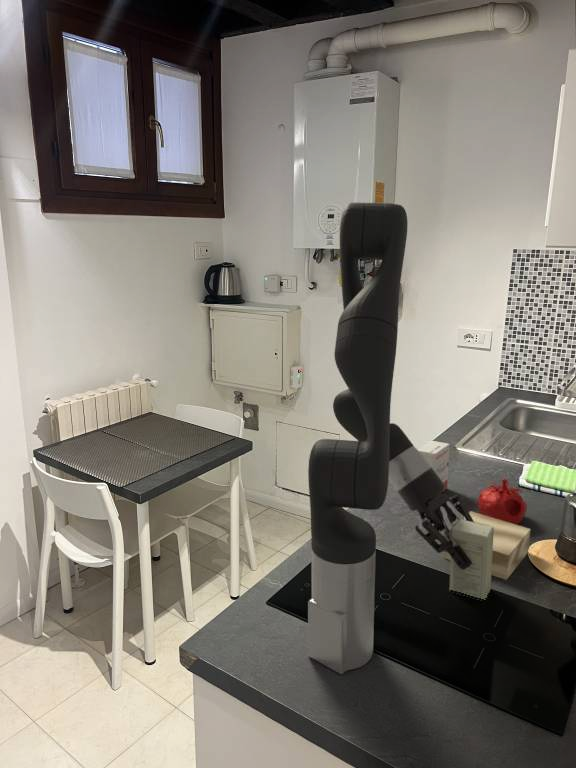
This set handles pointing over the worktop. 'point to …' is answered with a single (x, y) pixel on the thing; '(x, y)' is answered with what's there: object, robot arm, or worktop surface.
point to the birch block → (503, 544)
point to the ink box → (437, 458)
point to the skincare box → (473, 559)
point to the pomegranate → (502, 503)
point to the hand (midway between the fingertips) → (473, 559)
